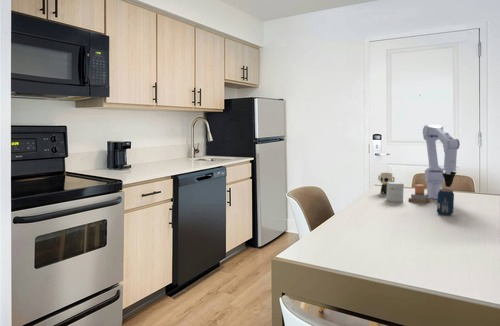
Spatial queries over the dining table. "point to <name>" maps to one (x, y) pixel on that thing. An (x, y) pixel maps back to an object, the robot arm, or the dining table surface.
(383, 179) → the big headed toy figurine
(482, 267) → the dining table surface
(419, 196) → the grey top slab
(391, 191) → the small box
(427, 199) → the walnut base slab
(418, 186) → the orange round piece
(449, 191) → the soda can
